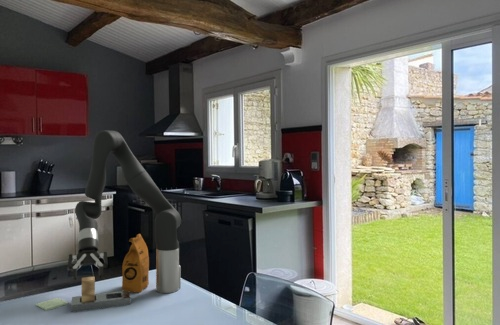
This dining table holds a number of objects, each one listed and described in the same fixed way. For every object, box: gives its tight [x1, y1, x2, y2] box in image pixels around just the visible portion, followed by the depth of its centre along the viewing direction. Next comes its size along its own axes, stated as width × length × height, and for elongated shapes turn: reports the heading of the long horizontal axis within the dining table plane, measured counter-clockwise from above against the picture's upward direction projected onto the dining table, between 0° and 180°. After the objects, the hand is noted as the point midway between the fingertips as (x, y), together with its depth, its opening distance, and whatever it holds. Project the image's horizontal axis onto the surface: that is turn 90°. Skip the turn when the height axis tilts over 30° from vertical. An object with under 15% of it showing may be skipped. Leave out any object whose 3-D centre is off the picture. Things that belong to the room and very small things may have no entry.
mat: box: [35, 297, 69, 311], centre depth 142 cm, size 8×8×1 cm
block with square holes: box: [70, 290, 131, 313], centre depth 143 cm, size 20×9×2 cm, turn 113°
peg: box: [81, 276, 96, 302], centre depth 142 cm, size 4×4×10 cm
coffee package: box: [121, 233, 150, 294], centre depth 162 cm, size 10×12×22 cm
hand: (88, 278), depth 145 cm, fingers open, 8 cm apart
